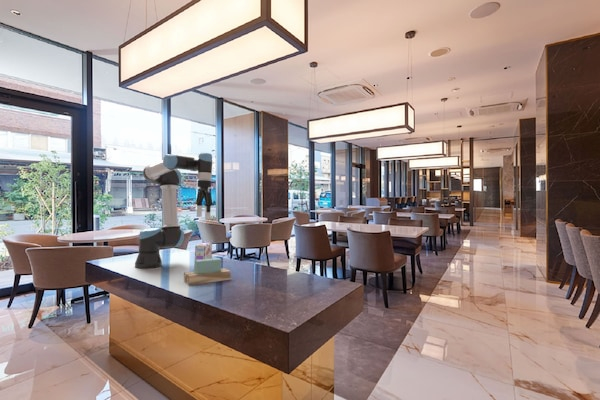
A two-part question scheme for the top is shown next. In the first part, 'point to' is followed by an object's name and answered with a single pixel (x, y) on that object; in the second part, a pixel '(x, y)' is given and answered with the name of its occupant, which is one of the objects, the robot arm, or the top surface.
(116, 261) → the top surface
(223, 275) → the wooden block with holes
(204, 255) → the candy box
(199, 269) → the green arch block
